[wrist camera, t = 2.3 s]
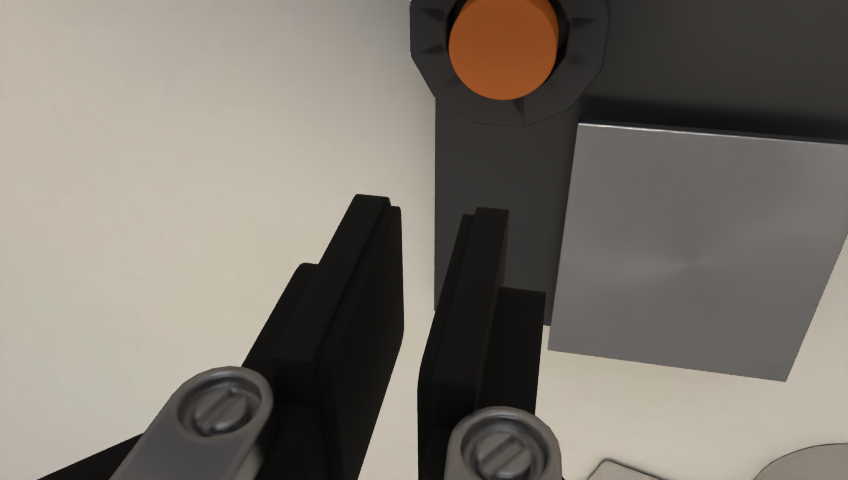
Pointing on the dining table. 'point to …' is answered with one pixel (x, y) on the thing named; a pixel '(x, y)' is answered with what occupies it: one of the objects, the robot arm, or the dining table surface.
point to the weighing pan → (697, 245)
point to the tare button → (504, 46)
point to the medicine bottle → (617, 473)
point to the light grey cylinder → (810, 465)
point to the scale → (620, 102)
